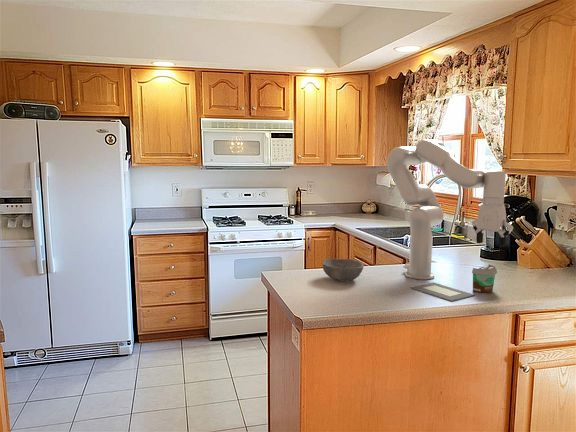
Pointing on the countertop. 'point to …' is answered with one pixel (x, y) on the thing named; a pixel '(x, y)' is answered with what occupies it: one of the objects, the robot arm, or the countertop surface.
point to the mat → (442, 291)
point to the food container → (484, 279)
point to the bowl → (342, 269)
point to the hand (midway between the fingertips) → (490, 244)
